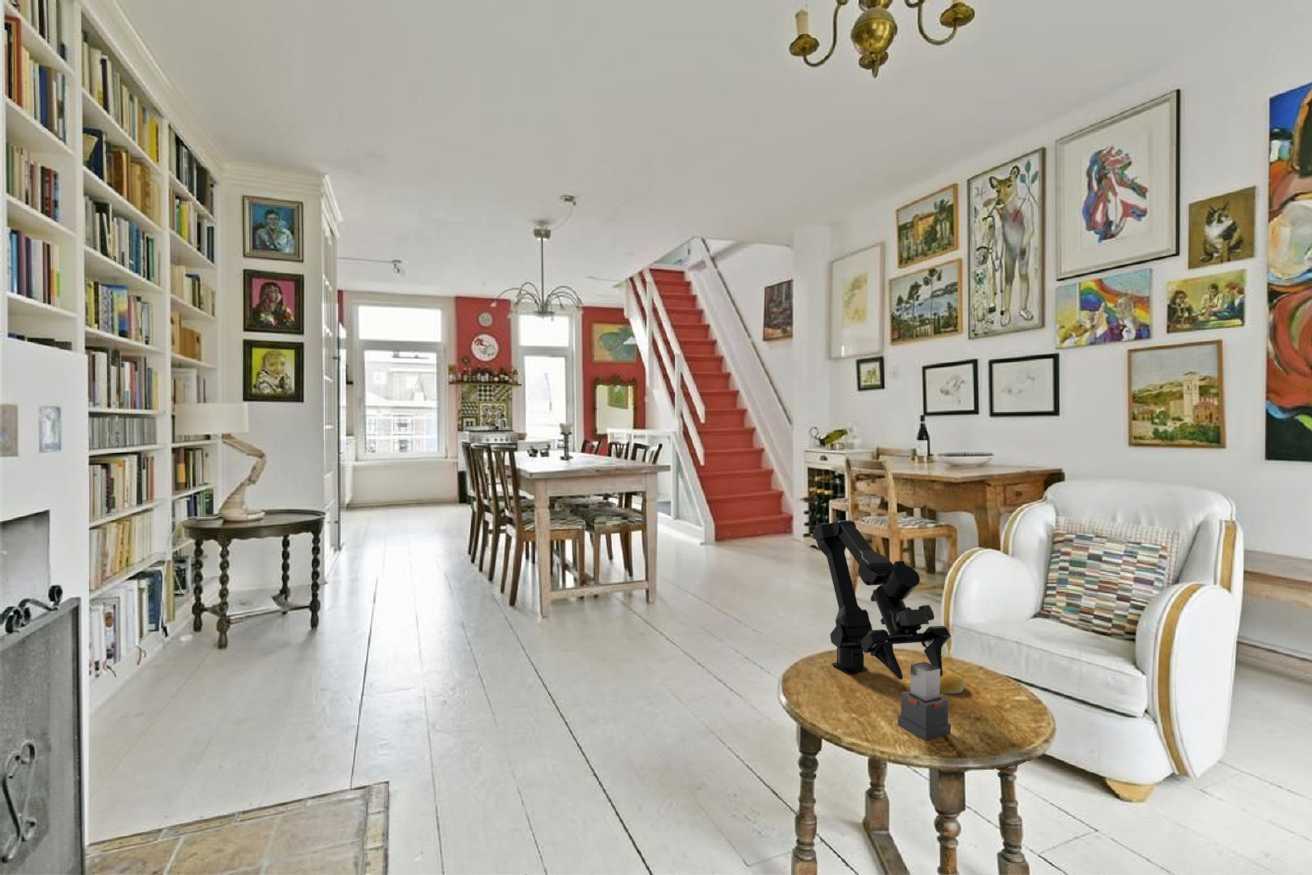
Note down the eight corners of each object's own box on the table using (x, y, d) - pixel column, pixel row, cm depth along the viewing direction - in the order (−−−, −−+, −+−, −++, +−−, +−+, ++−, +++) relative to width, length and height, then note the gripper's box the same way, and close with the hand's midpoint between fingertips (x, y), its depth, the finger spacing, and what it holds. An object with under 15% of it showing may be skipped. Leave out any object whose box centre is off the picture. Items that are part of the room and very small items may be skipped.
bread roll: (955, 698, 147) (955, 682, 147) (917, 686, 154) (918, 669, 154) (970, 688, 153) (970, 672, 152) (933, 676, 159) (934, 661, 159)
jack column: (908, 715, 133) (910, 664, 133) (923, 711, 135) (924, 661, 135) (925, 724, 130) (926, 672, 129) (939, 720, 131) (940, 668, 131)
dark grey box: (897, 724, 134) (898, 692, 134) (922, 717, 137) (923, 686, 137) (925, 740, 128) (926, 706, 127) (950, 733, 131) (951, 700, 131)
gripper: (868, 593, 136) (896, 664, 126) (946, 589, 140) (979, 657, 129) (850, 618, 144) (875, 686, 134) (924, 614, 148) (954, 680, 137)
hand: (921, 677), depth 133 cm, fingers open, 9 cm apart
